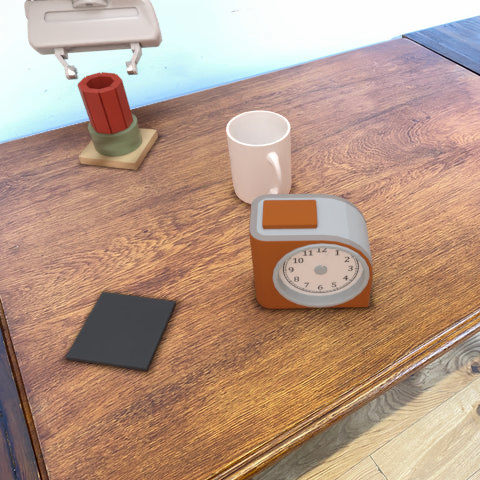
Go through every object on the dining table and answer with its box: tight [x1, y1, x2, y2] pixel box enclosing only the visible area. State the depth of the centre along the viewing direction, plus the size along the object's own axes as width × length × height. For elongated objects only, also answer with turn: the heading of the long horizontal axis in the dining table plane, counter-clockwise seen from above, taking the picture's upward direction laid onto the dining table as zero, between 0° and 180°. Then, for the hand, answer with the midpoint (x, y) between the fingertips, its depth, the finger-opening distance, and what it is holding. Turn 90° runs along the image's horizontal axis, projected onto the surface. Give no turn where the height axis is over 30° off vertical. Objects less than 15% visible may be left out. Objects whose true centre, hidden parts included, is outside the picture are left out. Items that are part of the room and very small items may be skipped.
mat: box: [65, 291, 177, 372], centre depth 64 cm, size 10×10×1 cm
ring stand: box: [78, 112, 159, 171], centre depth 86 cm, size 10×10×11 cm
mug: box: [225, 110, 293, 205], centre depth 79 cm, size 10×12×12 cm
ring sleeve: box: [76, 71, 133, 134], centre depth 84 cm, size 6×6×8 cm
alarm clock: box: [248, 193, 374, 310], centre depth 65 cm, size 15×8×14 cm, turn 92°
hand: (102, 76), depth 84 cm, fingers open, 8 cm apart
